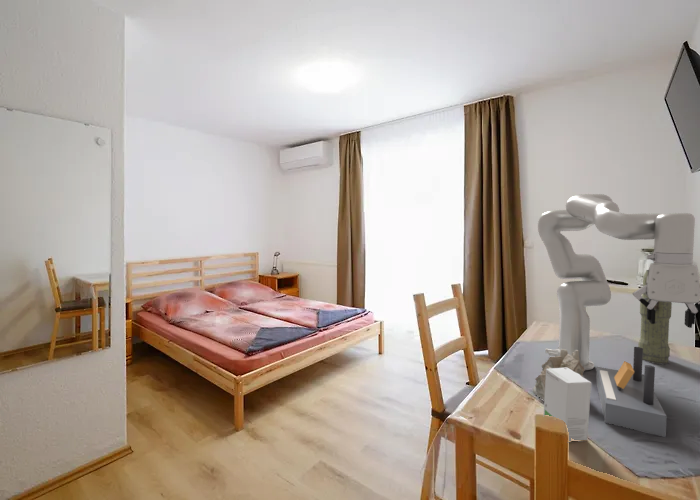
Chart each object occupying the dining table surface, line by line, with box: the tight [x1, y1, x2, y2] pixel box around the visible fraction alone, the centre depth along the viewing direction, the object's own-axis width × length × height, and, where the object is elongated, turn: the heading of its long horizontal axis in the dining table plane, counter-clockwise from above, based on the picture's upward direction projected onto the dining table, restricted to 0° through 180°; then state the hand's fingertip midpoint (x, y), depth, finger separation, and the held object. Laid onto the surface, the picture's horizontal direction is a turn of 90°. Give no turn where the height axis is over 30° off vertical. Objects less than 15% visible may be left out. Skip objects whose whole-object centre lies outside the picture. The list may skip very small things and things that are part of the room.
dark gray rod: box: [643, 364, 656, 405], centre depth 87 cm, size 2×2×10 cm
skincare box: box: [543, 367, 592, 441], centre depth 84 cm, size 8×7×16 cm
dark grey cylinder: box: [632, 346, 643, 382], centre depth 100 cm, size 2×2×10 cm
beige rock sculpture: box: [531, 349, 585, 400], centre depth 105 cm, size 16×16×15 cm
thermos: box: [637, 269, 673, 365], centre depth 126 cm, size 9×12×35 cm
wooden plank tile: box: [614, 361, 634, 391], centre depth 96 cm, size 2×6×7 cm, turn 149°
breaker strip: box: [595, 366, 668, 438], centre depth 96 cm, size 12×26×6 cm, turn 147°
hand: (669, 323), depth 90 cm, fingers open, 6 cm apart
